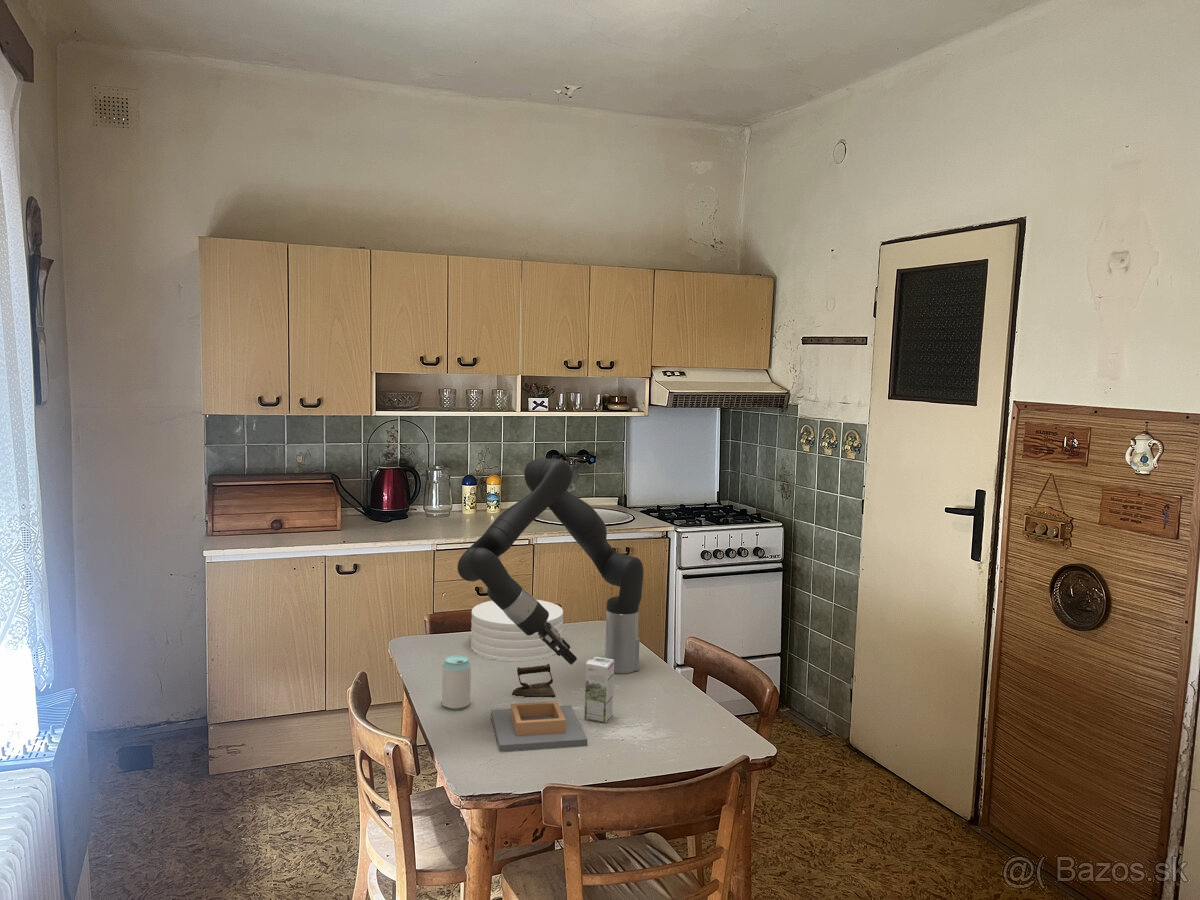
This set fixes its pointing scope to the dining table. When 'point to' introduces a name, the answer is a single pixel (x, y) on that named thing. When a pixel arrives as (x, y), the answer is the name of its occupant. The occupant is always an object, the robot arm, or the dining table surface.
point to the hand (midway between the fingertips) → (570, 655)
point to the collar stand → (537, 726)
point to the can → (456, 682)
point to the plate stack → (509, 634)
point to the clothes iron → (534, 689)
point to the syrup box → (599, 689)
